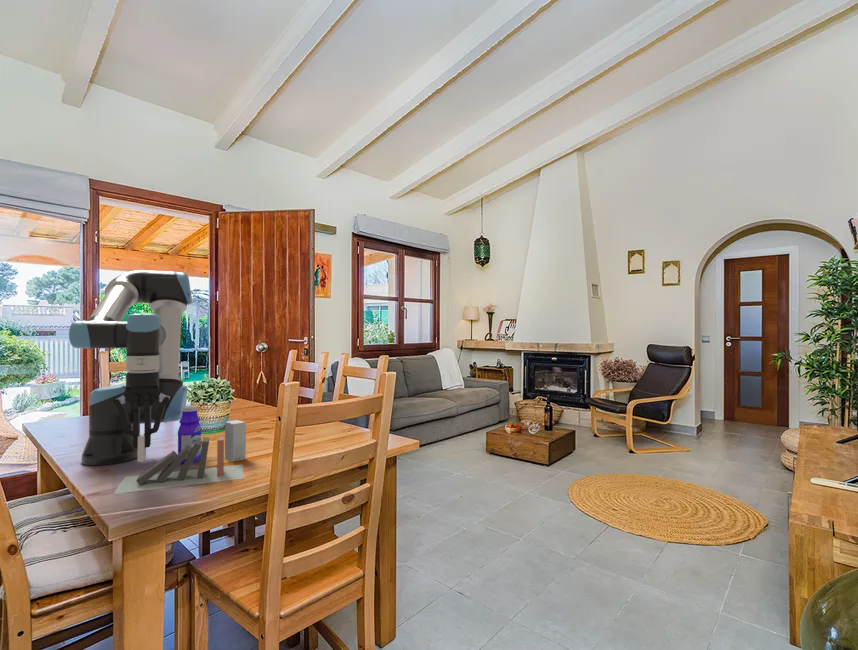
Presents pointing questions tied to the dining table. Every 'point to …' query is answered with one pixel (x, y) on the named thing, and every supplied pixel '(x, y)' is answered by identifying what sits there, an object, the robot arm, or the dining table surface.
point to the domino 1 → (156, 468)
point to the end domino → (220, 456)
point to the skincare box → (235, 440)
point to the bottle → (189, 430)
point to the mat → (190, 479)
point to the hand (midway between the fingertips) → (141, 459)
